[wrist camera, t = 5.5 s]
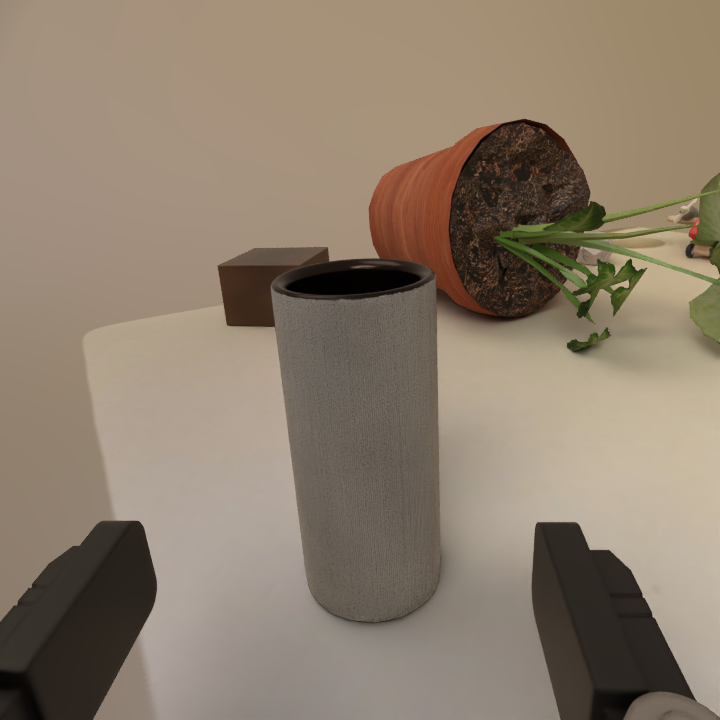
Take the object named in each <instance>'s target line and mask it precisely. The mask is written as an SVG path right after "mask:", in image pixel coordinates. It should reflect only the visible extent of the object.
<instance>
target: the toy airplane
mask: <svg viewBox="0 0 720 720" xmlns="http://www.w3.org/2000/svg"><path fill="white" fill-rule="evenodd" d="M697 199H698V198H695V199H694V200H693V201H692V202H691V203H690V204H689V205H685V206H683V207H681V208H680V214H679V215H678V216H669V217H668V221H670V222H673V223H678V224H686V225H697V224H699V212H698V210H697V209H696V208H695V207H693V206H692V205H693V204H694V203H695V202H696V201H697ZM697 229H698V226H697V227H692V228H691V230H690V232H689V237H691V238H692V239H693V240H695V238H696V234H697ZM710 248H712V247H708V246H698V245H695V244H692V243H690V244H689V245H688V246H687V248H686V256H687V257H693V255H694V254H698V255H703V256H712V254H711V253H710V251H709V249H710Z"/></svg>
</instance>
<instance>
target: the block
mask: <svg viewBox="0 0 720 720" xmlns="http://www.w3.org/2000/svg"><path fill="white" fill-rule="evenodd" d="M324 262H329V255H328V247H313V248H312V247H309V248H255V249H252V250H250V251H248V252H246V253H244V254H241V255H239V256H237V257H235V258H233V259H231V260H229V261H227V262H225V263H222V264H220V265H218V270H219V277H220V284H221V290H222V296H223V303H224V309H225V315H226V322H227V325H239V326H275V320H274V312H273V304H272V295H271V284H272V282H273V281H274V280H275V279H276V278H277V277H278V276H280V275H281V274H283V273H285V272H288V271H290V270H293V269H296V268H300V267H304V266H308V265H313V264H318V263H324Z"/></svg>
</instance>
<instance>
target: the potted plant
mask: <svg viewBox="0 0 720 720" xmlns="http://www.w3.org/2000/svg"><path fill="white" fill-rule="evenodd" d="M719 182H720V173H719V174H718V175H716V176H715V177H714V178H713V179H711V180H710V182H709V183H708V184H707V185H706V186H705V187H704V188H703V189H702V190H701V194H698V195H694V196H690V197H686V198H682V199H677V200H673V201H668V202H665V203H660V204H656V205H652V206H647V207H643V208H639V209H634V210H629V211H625V212H620V213H615V214H609V215H606V212H605V209H604V207H603V206H600V205H599V204H598V203H596V202H592V201H590V205H589V206H588V202H589V197H590V190H589V186H588V184H587V181H586V177H585V175H584V171H583V170H582V168H581V167H580V166H579V164H578V163H577V160H576V158H575V157H574V155H573V153H572V152H571V150H570V148H569V147H568V145H567V144H566V142H565V140H564V139H563V138H562V137H561V136H559V135H558V134H557V133H556V132H555V131H553V130H552V129H551V128H550V127H548V126H547V125H546V124H542V123H539V122H535V121H531V120H527V119H521V120H516V121H511V122H506V123H501V124H496V125H491V126H486V127H482V128H477V129H475V130H474V131H472V132H471V133H469V134H468V135H467V136H465V137H464V138H463V139H461V140H460V141H458V142H457V143H456V144H455V145H454V146H453V147H450V148H447V149H444V150H441V151H439V152H436V153H433V154H430V155H427V156H425V157H422V158H419V159H416V160H414V161H411V162H408V163H405V164H402V165H400V166H397V167H395V168H394V169H392V170H391V171H389V172H388V173H386V174H385V175H384V176H383V177H382V178H381V180H380V182H379V184H378V186H377V187H376V189H375V191H374V194H373V197H372V200H371V203H370V206H369V221H370V231H371V236H372V241H373V245H374V247H375V249H376V251H377V254H378V255H379V257H380V259H397V260H406V261H412V262H416V263H420V264H423V265H425V266H427V267H429V268H430V269H432V270H433V272H434V273H435V275H436V288H438V289H441V290H444V291H445V292H446V293H447V294H448V295H449V296H450V297H451V298H452V299H453V300H454V301H455V302H456V303H457V304H459V305H461V306H464V307H466V308H468V309H470V310H472V311H474V312H479V313H484V314H489V315H495V316H500V317H514V316H524V315H526V314H528V313H531V312H533V311H535V310H538V309H540V308H542V307H543V306H544V305H545V304H546V303H547V302H548V301H549V300H551V299H552V298H553V297H554V296H555V295H556V294H557V293H558V292H559V291H560V289H562V291H563V293H564V295H565V296H566V297H567V299H568V300H569V301H570V302H571V303H572V304H573V305H574V306H575V307H576V308H577V309H578V312H577V316H578V318H581V317H582V316H584V317H586V318H587V319H588V320H589V321H591V322H592V323H594V322H593V320H592V319H591V317H590V315H589V313H588V311H589V308H590V307H591V305H592V303H593V301H594V299H595V298H596V297H597V294H598V292H599V290H600V289H604V290H606V291H607V292H609V293H610V294H612V295H611V296H610V297H611V304H612V305H613V309H614V312H613V314H614V315H615V314H616V312H617V311H618V310H619V308H620V307H621V305H622V304H623V302H624V301H625V299H626V298H627V297H628V295H629V294H630V292H631V291H632V289H633V288H634V286H635V285H636V284H637V282H638V281H639V279H640V278H641V276H642V275H643V274H644V272H645V271H646V269H647V268H645V269H644V270H643V269H641V270H639V271H637V270H635V267H633V266H632V260H631V259H630V260H628V261H627V262H626V264H625V266H623V267H622V268H621V270H620V271H619V272H618V274H617V275H616V276H615V277H614V275H615V267H614V265H613V264H610V263H609V264H606V262H602V261H601V260H600V259H597V264H598V272H599V274H598V276H595V275H594V274H592V273H591V272H590V271H589V270H588V268H586V267H585V266H583V265H581V264H579V263H577V262H576V259H577V256H578V254H579V251H580V248H581V247H587V248H593V249H598V250H603V251H608V252H613V253H617V254H622V255H626V256H630V257H634V258H638V259H642V260H645V261H649V262H652V263H655V264H658V265H661V266H664V267H668V268H671V269H674V270H677V271H680V272H683V273H686V274H689V275H691V276H694V277H697V278H700V279H703V280H706V281H708V282H711V283H713V284H712V285H711V286H710V287H709V288H708V289H707V290H706V291H705V292H703V293H702V294H701V295H699V296H698V297H696V298H695V299H693V300H692V301H691V302H689V305H690V317H691V319H692V320H693V321H694V323H695V324H696V325H697V326H698V327H699V328H700V329H701V331H702V332H703V334H704V335H705V336H707V337H710V338H712V339H713V340H716V341H717V342H718V343H719V344H720V278H719V279H718V280H716V279H713V278H710V277H707V276H704V275H701V274H698V273H695V272H692V271H689V270H686V269H683V268H679V267H676V266H673V265H670V264H667V263H664V262H661V261H659V260H656V259H653V258H650V257H647V256H645V255H642V254H639V253H637V252H634V251H631V250H628V249H625V248H623V247H620V246H617V245H614V244H611V243H608V242H605V241H602V240H605V239H623V238H631V237H636V236H642V235H647V234H653V233H658V232H664V231H669V230H676V229H683V228H690V227H697V226H698V229H697V234H696V238H695V240H692V241H690V243H692V244H695V245H698V246H708V247H712V248H710V249H709V251H710V253H711V254H712V257H711V264H712V265H714V264H715V266H716V267H717V268H718V271H719V274H720V186H719ZM699 197H700V209H699V224H697V225H687V226H678V227H667V228H658V229H651V230H644V231H637V232H630V233H584V231H591V230H595V229H598V228H599V227H601V226H602V225H603V224H604V223H607V222H611V221H615V220H619V219H623V218H628V217H631V216H635V215H639V214H642V213H646V212H650V211H654V210H657V209H660V208H664V207H668V206H671V205H674V204H678V203H681V202H684V201H688V200H691V199H695V198H699ZM573 268H574V269H577V270H579V271H581V272H582V273H584V274H586V275H587V277H588V279H587V280H586V282H587V285H586V283H585V282H584V281H583V280H582V279H581V278H580V277H578V276H577V275H576V274H575V273H573V272H572V270H573ZM567 279H568V280H570V281H571V282H573V283H574V284H575V285H577V286H578V287H580V289H579V290H577V291H574V292H573V293H571V292H570V291H569V290H568V289H567V288H566V287H564V286H563V284H564V283H565V282H566V280H567ZM628 279H629V288H624V287H619V288H617V289H616V290H615V291H614V290H613V289H612V288H611V287H610V286H612V285H615V284H618V283H621V282H624V281H626V280H628ZM584 293H589V294H590V295H591V298H590V299H589V300H587V301H586V302H582V303H581V302H580V301H579V300H578V299H577V298H576V297H575V296H574V295H576V296H577V295H581V294H584ZM614 315H613V316H614ZM594 324H595V323H594ZM610 336H611V334H610V332H608V328H606V329H605V330H604V332H603V333H602V335H601V336H600V338H599V339H598V334H597V333H596V332H595V333H593V334H590V337H589V340H588V342H579V341H577V340H571V341H570V342H569V343H567V347H568V348H572V351H575V350H579V349H581V348H584V347H586V346H589V345H592V344H594V343H596V342H599V341H601V340H603V339H606V338H608V337H610Z"/></svg>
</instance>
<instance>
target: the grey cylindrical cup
mask: <svg viewBox="0 0 720 720" xmlns="http://www.w3.org/2000/svg"><path fill="white" fill-rule="evenodd" d="M271 295H272V304H273V312H274V320H275V328H276V336H277V344H278V352H279V361H280V369H281V377H282V385H283V393H284V401H285V409H286V417H287V425H288V433H289V441H290V449H291V457H292V465H293V473H294V482H295V490H296V498H297V506H298V514H299V522H300V530H301V538H302V546H303V554H304V562H305V570H306V575H307V580H308V585H309V588H310V591H311V593H312V594H313V596H314V598H315V599H316V600H317V601H318V602H319V603H320V604H321V605H322V606H323V607H324V608H326V609H327V610H329V611H330V612H332V613H334V614H336V615H338V616H340V617H343V618H346V619H350V620H354V621H362V622H380V621H386V620H391V619H395V618H399V617H401V616H404V615H406V614H408V613H410V612H412V611H414V610H416V609H417V608H419V607H420V606H421V605H422V604H424V603H425V602H426V601H427V600H428V599H429V598H430V596H431V595H432V594H433V592H434V591H435V589H436V587H437V584H438V581H439V575H440V501H439V436H438V371H437V305H436V275H435V273H434V272H433V270H432V269H430V268H429V267H427V266H425V265H423V264H420V263H416V262H412V261H406V260H397V259H350V260H339V261H331V262H324V263H318V264H313V265H308V266H304V267H300V268H296V269H293V270H290V271H288V272H285V273H283V274H281V275H280V276H278V277H277V278H276V279H275V280H274V281H273V282H272V284H271Z"/></svg>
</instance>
